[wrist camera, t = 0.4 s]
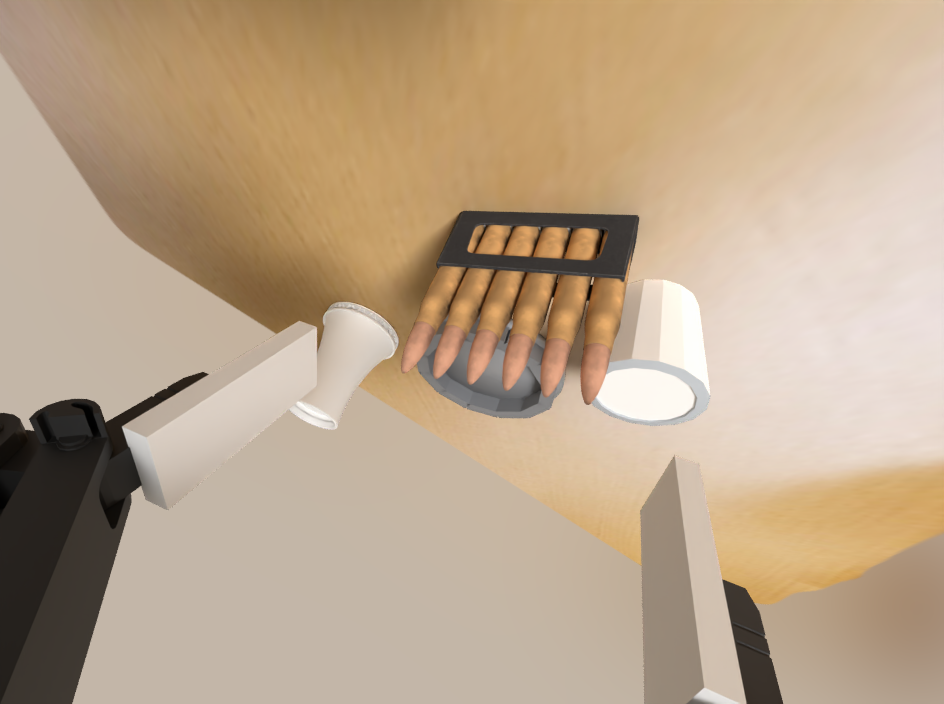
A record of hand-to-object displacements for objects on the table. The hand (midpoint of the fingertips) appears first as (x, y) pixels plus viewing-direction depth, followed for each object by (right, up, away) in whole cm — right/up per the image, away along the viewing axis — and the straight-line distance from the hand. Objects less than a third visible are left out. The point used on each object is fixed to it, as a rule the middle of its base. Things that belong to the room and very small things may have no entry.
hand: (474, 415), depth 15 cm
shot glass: (+12, +5, +14) cm, 19 cm away
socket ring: (+2, +1, +24) cm, 24 cm away
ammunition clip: (+4, +10, +11) cm, 16 cm away
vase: (-11, +5, +27) cm, 29 cm away
